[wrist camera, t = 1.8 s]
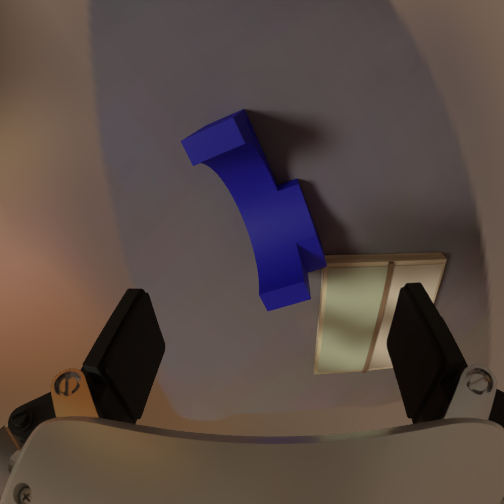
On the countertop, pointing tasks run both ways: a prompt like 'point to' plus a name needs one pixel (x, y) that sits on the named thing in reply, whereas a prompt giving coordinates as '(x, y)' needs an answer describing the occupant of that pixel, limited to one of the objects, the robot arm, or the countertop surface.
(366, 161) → the countertop surface
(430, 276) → the board
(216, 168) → the cable clip
